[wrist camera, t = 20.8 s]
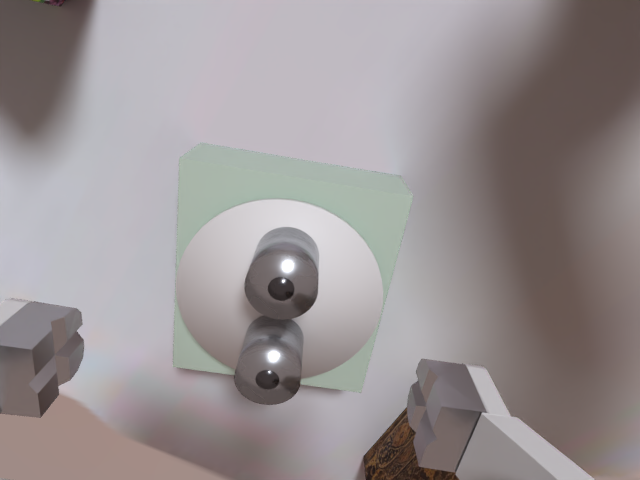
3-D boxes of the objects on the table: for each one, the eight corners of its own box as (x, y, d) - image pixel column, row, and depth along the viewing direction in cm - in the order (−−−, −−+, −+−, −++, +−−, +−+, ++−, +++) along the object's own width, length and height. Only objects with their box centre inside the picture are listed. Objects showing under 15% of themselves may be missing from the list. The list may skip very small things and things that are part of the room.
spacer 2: (308, 318, 35) (305, 358, 31) (299, 365, 37) (295, 409, 33) (248, 309, 35) (237, 348, 31) (243, 357, 37) (231, 400, 33)
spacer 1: (324, 232, 32) (323, 262, 28) (313, 288, 34) (311, 325, 30) (259, 221, 32) (248, 250, 27) (252, 278, 34) (240, 314, 29)
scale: (400, 175, 38) (417, 202, 31) (355, 357, 46) (360, 410, 40) (200, 142, 37) (172, 162, 30) (191, 334, 45) (167, 384, 39)
